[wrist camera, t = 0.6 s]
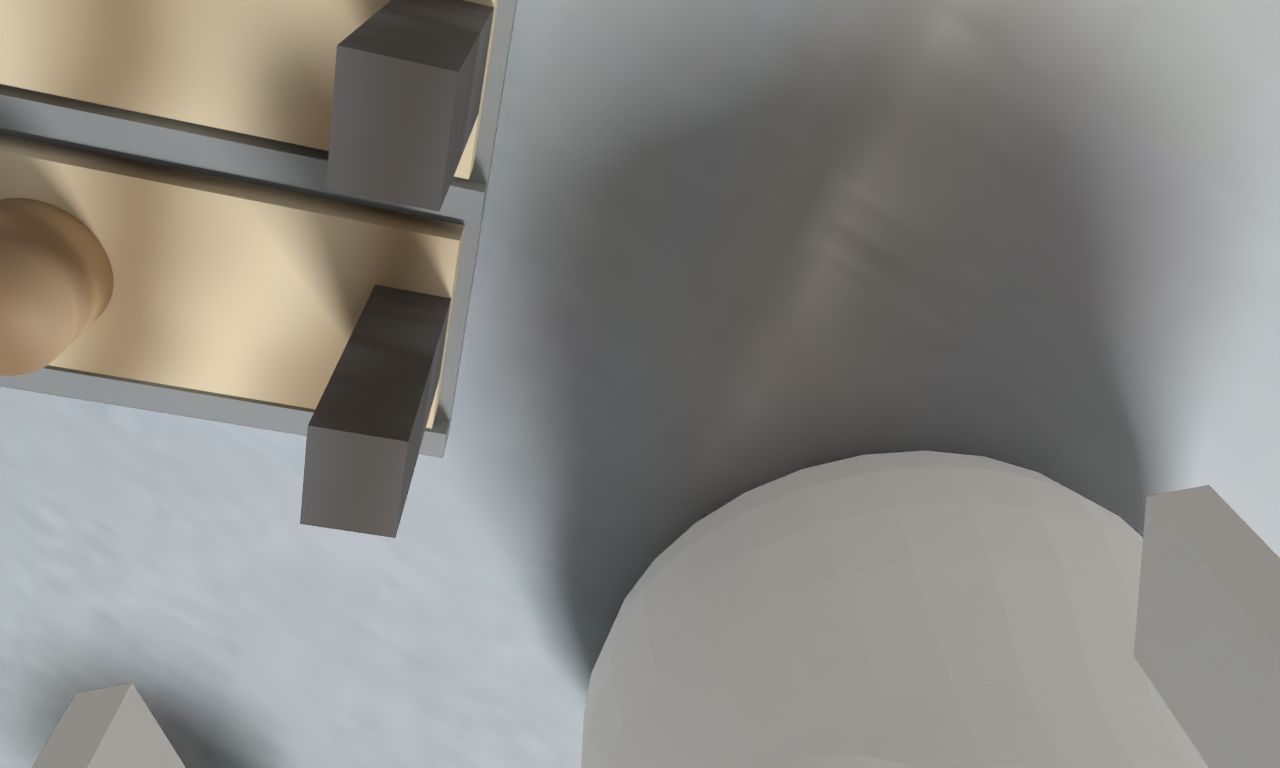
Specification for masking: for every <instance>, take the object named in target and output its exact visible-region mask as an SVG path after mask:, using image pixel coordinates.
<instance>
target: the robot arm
mask: <svg viewBox="0 0 1280 768" xmlns="http://www.w3.org/2000/svg"><path fill="white" fill-rule="evenodd" d="M1134 657H1135V659H1136V660H1137V662H1138V663H1139V665H1140V666H1141V668H1142V669H1143V671H1144V672H1145V674H1146V675H1147V677H1148V678H1149V680H1150V681H1151V683H1152V684H1153V686H1154V687H1155V689H1156V690H1157V692H1158V693H1159V694H1160V696H1161V697H1162V699H1163V700H1164V702H1165V703H1166V705H1167V706H1168V708H1169V709H1170V711H1171V712H1172V714H1173V715H1174V717H1175V718H1176V720H1177V721H1178V723H1179V724H1180V726H1181V727H1182V729H1183V730H1184V732H1185V733H1186V735H1187V736H1188V738H1189V739H1190V741H1191V742H1192V744H1193V745H1194V747H1195V748H1196V750H1197V751H1198V753H1199V754H1200V755H1201V757H1202V758H1203V760H1204V761H1205V763H1206V764H1207V766H1208V767H1209V768H1280V558H1279V557H1278V556H1277V555H1276V554H1275V553H1274V552H1273V551H1272V550H1271V549H1270V548H1269V547H1268V546H1267V545H1266V544H1265V543H1264V541H1263V540H1262V539H1261V538H1260V537H1259V536H1258V535H1257V534H1256V533H1255V532H1254V531H1253V530H1252V529H1251V528H1250V527H1249V526H1248V525H1247V524H1246V523H1245V522H1244V521H1243V520H1242V519H1241V518H1240V517H1239V516H1238V515H1237V514H1236V512H1235V511H1234V510H1233V509H1232V508H1231V507H1230V506H1229V505H1228V504H1227V503H1226V502H1225V501H1224V500H1223V499H1222V498H1221V497H1220V496H1219V495H1218V494H1217V493H1216V492H1215V491H1214V490H1213V489H1212V488H1211V487H1210V486H1209V485H1206V486H1201V487H1195V488H1190V489H1185V490H1179V491H1174V492H1168V493H1163V494H1157V495H1152V496H1147V497H1146V509H1145V521H1144V534H1143V546H1142V558H1141V571H1140V583H1139V596H1138V608H1137V620H1136V633H1135V645H1134ZM32 768H186V767H185V766H184V764H183V762H182V761H181V759H180V758H179V756H178V755H177V753H176V751H175V750H174V748H173V747H172V745H171V744H170V742H169V740H168V739H167V737H166V736H165V734H164V732H163V731H162V729H161V728H160V726H159V725H158V723H157V721H156V720H155V718H154V717H153V715H152V713H151V712H150V710H149V709H148V707H147V706H146V704H145V702H144V701H143V699H142V698H141V696H140V695H139V693H138V691H137V690H136V688H135V687H134V685H133V683H128V684H123V685H117V686H112V687H107V688H101V689H96V690H90V691H85V692H79V693H76V694H75V696H74V697H73V699H72V701H71V702H70V704H69V706H68V708H67V709H66V711H65V713H64V714H63V716H62V718H61V719H60V721H59V723H58V725H57V726H56V728H55V730H54V731H53V733H52V735H51V736H50V738H49V740H48V742H47V743H46V745H45V747H44V748H43V750H42V752H41V753H40V755H39V757H38V758H37V760H36V762H35V764H34V765H33V767H32Z"/></svg>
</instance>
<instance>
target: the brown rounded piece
mask: <svg viewBox="0 0 1280 768" xmlns="http://www.w3.org/2000/svg"><path fill="white" fill-rule="evenodd" d="M113 283H114V279H113V271H112V267H111V263H110V260H109V258H108V255H107V253H106V251H105V250H104V248H103V246H102V244H101V243H100V242H99V240H98V239H97V237H96V236H95V235H94V234H93V233H92V232H91V231H90V229H88V228H87V227H86V226H85V225H84V224H83V223H82V222H81V221H79V220H78V219H77V218H75V217H74V216H73V215H71V214H69V213H68V212H66V211H64V210H62V209H60V208H58V207H56V206H54V205H51V204H48V203H46V202H42V201H38V200H34V199H27V198H8V199H2V200H0V375H2V376H15V375H24V374H28V373H32V372H35V371H37V370H40V369H42V368H44V367H45V366H47V365H49V364H50V363H51V362H52V361H53V360H55V359H56V358H57V357H58V356H59V355H60V354H61V353H62V352H63V351H64V350H65V349H66V348H67V347H68V346H69V345H70V344H71V343H72V342H73V341H74V340H75V339H76V338H77V337H78V336H79V335H80V334H81V333H82V332H83V331H84V330H86V329H87V328H88V327H89V326H90V325H91V324H92V323H93V322H94V321H95V320H96V319H97V318H98V317H99V316H100V315H101V314H102V313H103V311H104V310H105V309H106V307H107V305H108V304H109V302H110V299H111V296H112V292H113Z"/></svg>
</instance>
